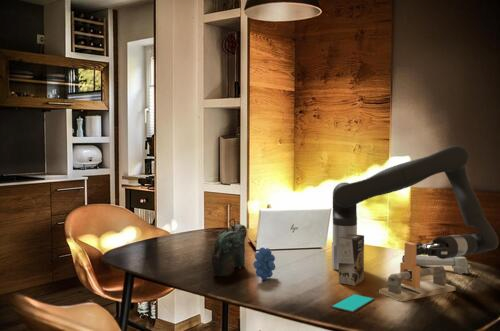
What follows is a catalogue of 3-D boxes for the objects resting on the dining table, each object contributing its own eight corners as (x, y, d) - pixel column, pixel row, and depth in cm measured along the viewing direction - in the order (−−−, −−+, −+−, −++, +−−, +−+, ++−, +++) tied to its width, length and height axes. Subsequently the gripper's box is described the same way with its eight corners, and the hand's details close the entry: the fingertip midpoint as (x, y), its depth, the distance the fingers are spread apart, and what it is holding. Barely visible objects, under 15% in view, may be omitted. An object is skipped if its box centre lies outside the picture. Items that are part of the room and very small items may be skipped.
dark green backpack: (237, 264, 202) (236, 215, 201) (250, 266, 199) (250, 216, 198) (208, 276, 185) (208, 222, 184) (223, 278, 181) (223, 223, 180)
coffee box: (355, 286, 172) (356, 239, 171) (337, 283, 175) (338, 237, 174) (364, 279, 180) (365, 235, 179) (347, 277, 183) (347, 233, 182)
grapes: (264, 285, 172) (264, 251, 172) (249, 282, 176) (249, 248, 176) (283, 278, 181) (283, 245, 181) (268, 275, 186) (268, 243, 185)
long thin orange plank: (415, 288, 160) (416, 245, 159) (400, 282, 166) (400, 241, 165) (420, 287, 161) (420, 245, 160) (404, 282, 167) (405, 241, 166)
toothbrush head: (405, 253, 204) (470, 253, 188) (407, 269, 204) (472, 271, 188) (400, 255, 200) (466, 256, 184) (403, 272, 199) (468, 274, 184)
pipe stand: (401, 301, 155) (401, 277, 155) (379, 292, 164) (379, 270, 164) (455, 290, 166) (455, 268, 166) (432, 282, 175) (432, 261, 175)
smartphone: (330, 306, 150) (353, 293, 162) (330, 309, 150) (353, 296, 162) (352, 311, 145) (375, 298, 157) (352, 314, 145) (375, 301, 157)
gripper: (435, 232, 177) (398, 237, 169) (466, 239, 165) (428, 244, 157) (434, 253, 178) (397, 259, 170) (466, 261, 166) (427, 268, 158)
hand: (412, 252), depth 164 cm, fingers closed
